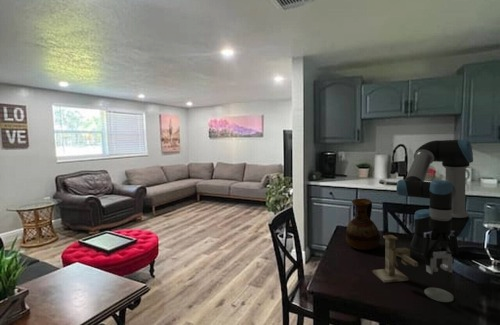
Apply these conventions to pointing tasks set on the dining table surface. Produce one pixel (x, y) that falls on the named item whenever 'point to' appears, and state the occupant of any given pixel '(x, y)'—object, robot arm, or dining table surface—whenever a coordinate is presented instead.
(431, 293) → the felt pad
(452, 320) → the dining table surface
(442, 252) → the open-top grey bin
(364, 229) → the ceramic pitcher
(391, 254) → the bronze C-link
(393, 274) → the peg stand
